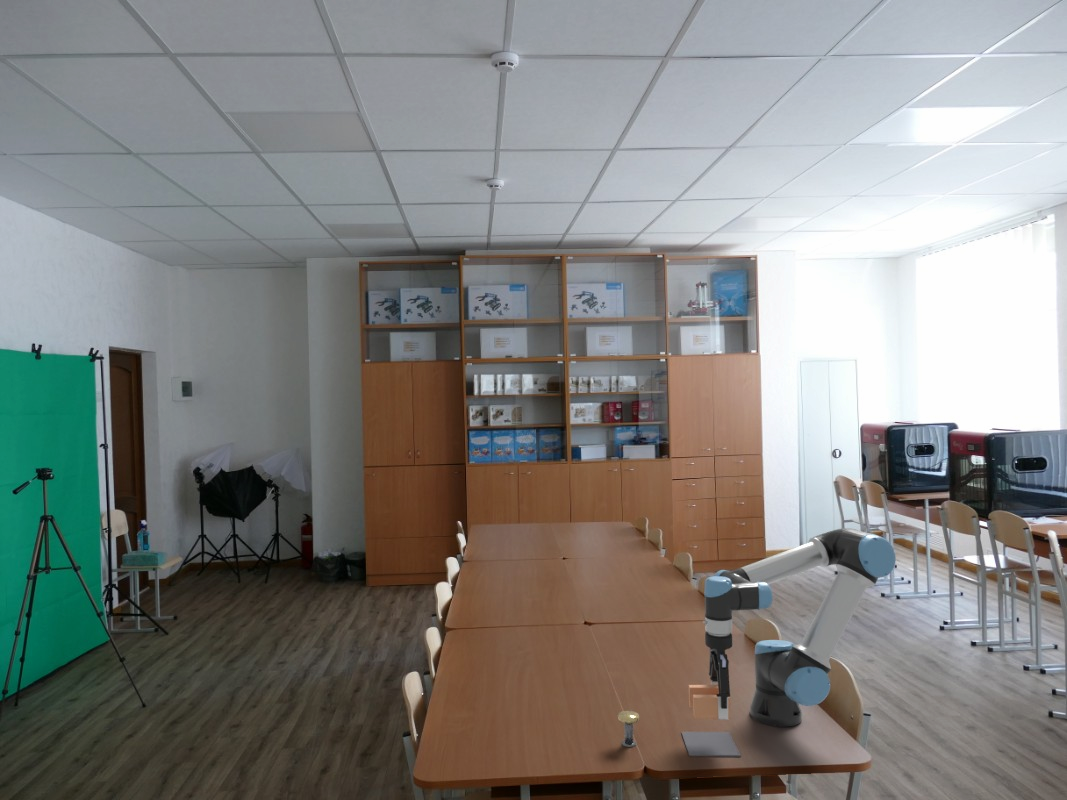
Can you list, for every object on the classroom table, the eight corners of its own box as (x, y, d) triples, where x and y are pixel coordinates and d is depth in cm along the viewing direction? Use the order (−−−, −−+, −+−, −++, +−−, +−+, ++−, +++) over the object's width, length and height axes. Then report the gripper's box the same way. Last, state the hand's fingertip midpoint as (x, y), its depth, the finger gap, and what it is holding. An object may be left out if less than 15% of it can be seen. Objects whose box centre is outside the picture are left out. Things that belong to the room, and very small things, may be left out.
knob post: (638, 739, 207) (637, 710, 208) (640, 748, 201) (640, 719, 202) (617, 738, 208) (617, 710, 208) (619, 748, 202) (618, 719, 202)
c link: (723, 705, 208) (723, 684, 208) (730, 719, 199) (730, 697, 199) (688, 705, 208) (688, 684, 208) (694, 719, 199) (694, 697, 199)
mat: (729, 733, 210) (729, 731, 210) (740, 756, 196) (740, 755, 196) (681, 733, 211) (681, 731, 211) (689, 756, 197) (689, 754, 197)
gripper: (698, 620, 215) (699, 695, 214) (713, 644, 193) (714, 728, 193) (723, 620, 214) (724, 695, 214) (741, 645, 193) (742, 728, 192)
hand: (719, 711), depth 203 cm, fingers closed on c link, 9 cm apart
